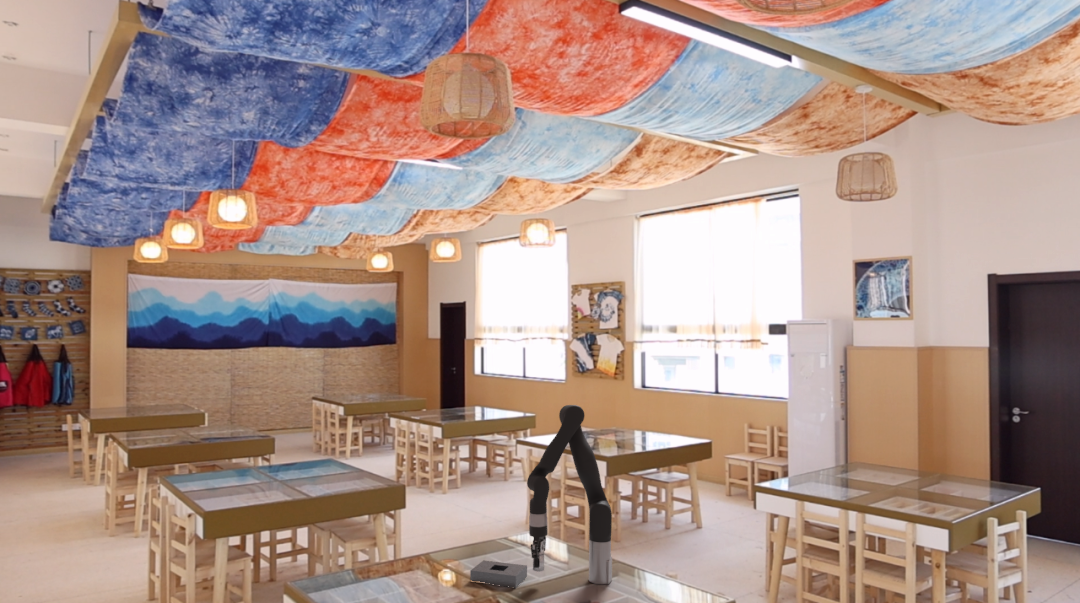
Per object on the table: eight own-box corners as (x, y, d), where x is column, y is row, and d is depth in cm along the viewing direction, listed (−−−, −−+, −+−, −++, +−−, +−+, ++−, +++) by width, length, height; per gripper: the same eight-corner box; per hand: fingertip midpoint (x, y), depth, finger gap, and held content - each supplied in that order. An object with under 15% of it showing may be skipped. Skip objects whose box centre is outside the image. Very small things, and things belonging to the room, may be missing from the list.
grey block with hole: (526, 577, 317) (527, 565, 317) (515, 588, 304) (515, 575, 304) (483, 571, 323) (483, 560, 323) (470, 582, 310) (470, 570, 310)
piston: (545, 568, 309) (545, 548, 310) (542, 572, 305) (542, 552, 305) (534, 567, 311) (534, 547, 311) (531, 570, 306) (531, 551, 306)
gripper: (541, 528, 300) (542, 571, 300) (551, 519, 314) (552, 560, 314) (524, 527, 303) (524, 570, 302) (534, 518, 316) (535, 559, 316)
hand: (538, 565), depth 308 cm, fingers closed on piston, 4 cm apart
